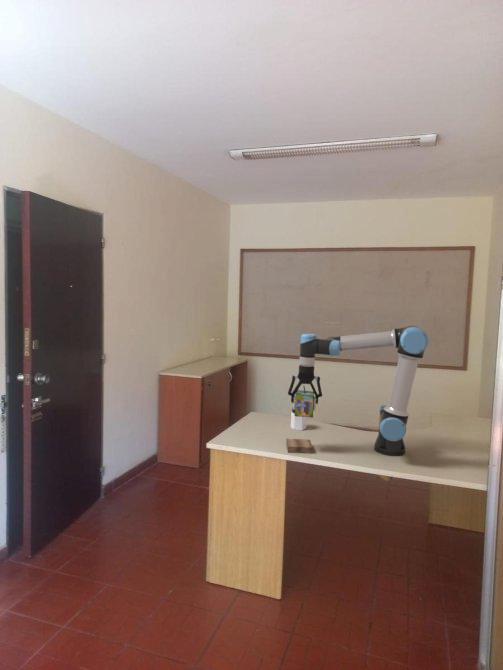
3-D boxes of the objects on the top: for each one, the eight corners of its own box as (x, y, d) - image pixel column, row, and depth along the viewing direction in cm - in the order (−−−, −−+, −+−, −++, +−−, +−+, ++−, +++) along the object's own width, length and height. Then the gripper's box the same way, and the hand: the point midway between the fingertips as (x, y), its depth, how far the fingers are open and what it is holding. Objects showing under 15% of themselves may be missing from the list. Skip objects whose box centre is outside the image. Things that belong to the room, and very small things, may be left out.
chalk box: (312, 418, 224) (315, 388, 222) (293, 416, 225) (296, 386, 224) (313, 413, 233) (315, 384, 231) (295, 411, 234) (297, 383, 233)
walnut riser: (309, 445, 237) (309, 439, 236) (312, 453, 225) (312, 447, 224) (286, 444, 237) (286, 438, 236) (288, 452, 225) (288, 446, 224)
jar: (296, 425, 272) (297, 405, 270) (308, 428, 266) (309, 407, 265) (288, 428, 265) (288, 407, 263) (300, 431, 260) (301, 410, 258)
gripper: (328, 365, 230) (325, 408, 232) (283, 362, 230) (281, 406, 232) (330, 367, 223) (327, 412, 225) (284, 365, 223) (282, 410, 225)
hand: (303, 409), depth 229 cm, fingers closed on chalk box, 9 cm apart
